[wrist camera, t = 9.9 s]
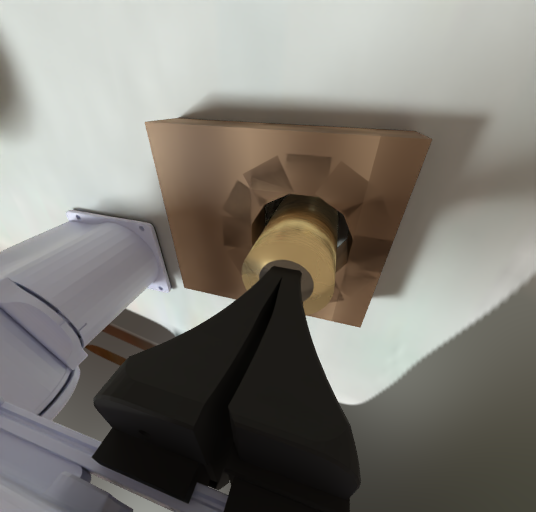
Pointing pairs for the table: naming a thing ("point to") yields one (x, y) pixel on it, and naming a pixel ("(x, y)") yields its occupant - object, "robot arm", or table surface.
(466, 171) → the table surface
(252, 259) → the bushing
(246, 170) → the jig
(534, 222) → the table surface
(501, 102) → the table surface
